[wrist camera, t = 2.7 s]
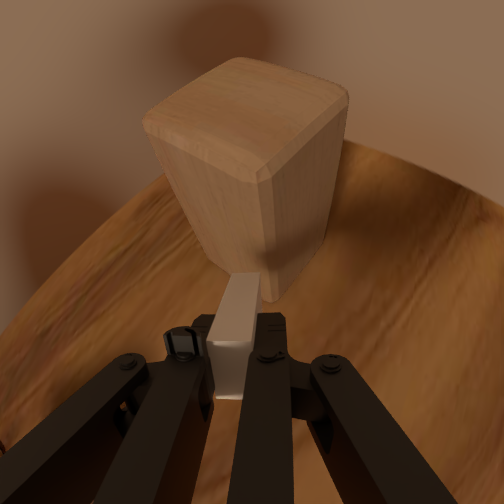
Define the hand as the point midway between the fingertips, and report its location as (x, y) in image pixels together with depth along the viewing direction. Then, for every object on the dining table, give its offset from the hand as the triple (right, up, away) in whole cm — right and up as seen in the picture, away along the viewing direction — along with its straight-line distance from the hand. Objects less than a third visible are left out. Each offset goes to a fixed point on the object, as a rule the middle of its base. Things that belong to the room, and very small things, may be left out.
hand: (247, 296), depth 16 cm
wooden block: (+2, +3, +17) cm, 18 cm away
